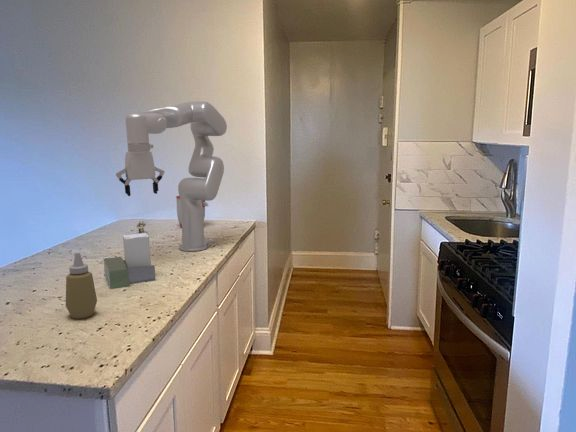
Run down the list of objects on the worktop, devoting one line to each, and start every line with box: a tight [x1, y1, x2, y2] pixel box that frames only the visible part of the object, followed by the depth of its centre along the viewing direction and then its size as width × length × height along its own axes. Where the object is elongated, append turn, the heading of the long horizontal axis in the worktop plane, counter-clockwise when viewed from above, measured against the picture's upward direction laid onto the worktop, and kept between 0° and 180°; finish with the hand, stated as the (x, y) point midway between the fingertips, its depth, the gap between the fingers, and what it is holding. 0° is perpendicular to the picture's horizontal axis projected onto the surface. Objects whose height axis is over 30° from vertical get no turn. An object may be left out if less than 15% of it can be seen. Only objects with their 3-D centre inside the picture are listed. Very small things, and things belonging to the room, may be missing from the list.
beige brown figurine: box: [135, 220, 147, 234], centre depth 227 cm, size 12×18×7 cm, turn 13°
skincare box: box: [122, 232, 152, 268], centre depth 158 cm, size 8×6×15 cm
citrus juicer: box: [175, 195, 209, 228], centre depth 244 cm, size 16×17×20 cm
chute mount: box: [103, 256, 156, 290], centre depth 157 cm, size 15×17×6 cm
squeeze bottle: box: [65, 252, 98, 320], centre depth 124 cm, size 8×8×18 cm
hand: (142, 194), depth 167 cm, fingers open, 9 cm apart
